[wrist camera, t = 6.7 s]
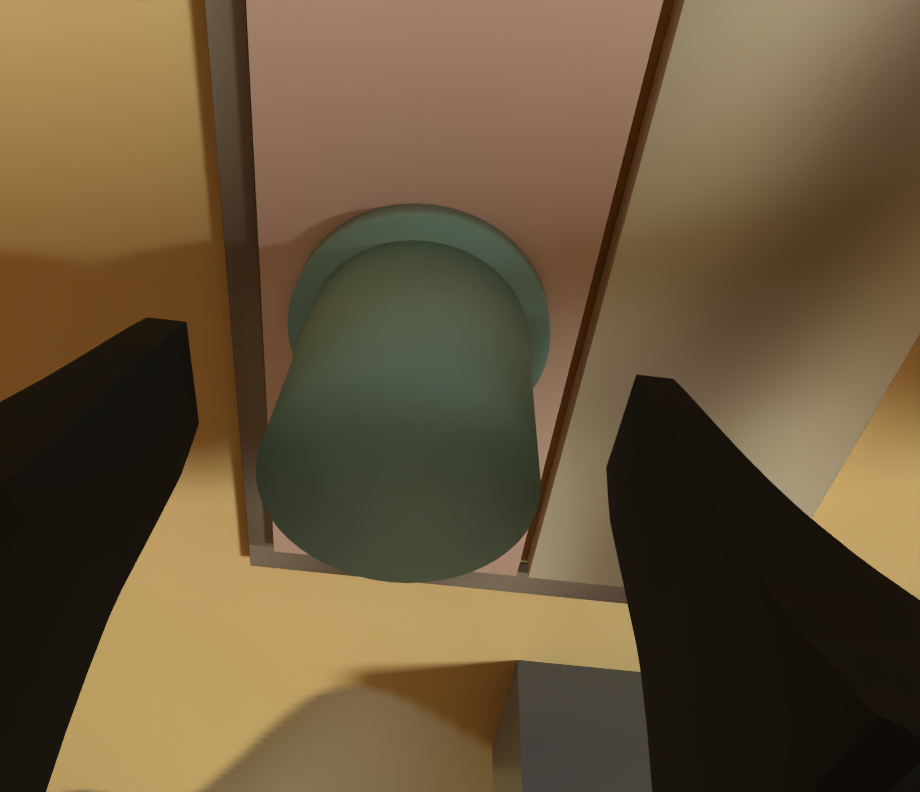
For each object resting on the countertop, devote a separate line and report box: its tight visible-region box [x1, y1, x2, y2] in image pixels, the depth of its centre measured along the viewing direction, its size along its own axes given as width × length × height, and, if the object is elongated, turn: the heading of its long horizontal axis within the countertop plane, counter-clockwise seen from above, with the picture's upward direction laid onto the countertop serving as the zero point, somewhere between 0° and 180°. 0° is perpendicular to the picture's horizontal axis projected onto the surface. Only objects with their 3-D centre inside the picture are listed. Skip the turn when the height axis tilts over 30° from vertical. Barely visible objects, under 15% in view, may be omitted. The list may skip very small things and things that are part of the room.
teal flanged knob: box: [256, 203, 550, 583], centre depth 12 cm, size 5×5×4 cm
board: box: [205, 0, 920, 604], centre depth 14 cm, size 21×16×1 cm
